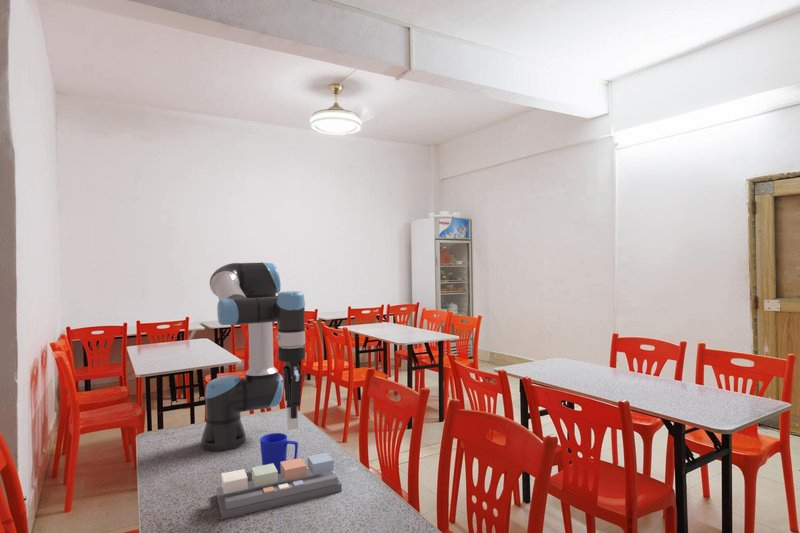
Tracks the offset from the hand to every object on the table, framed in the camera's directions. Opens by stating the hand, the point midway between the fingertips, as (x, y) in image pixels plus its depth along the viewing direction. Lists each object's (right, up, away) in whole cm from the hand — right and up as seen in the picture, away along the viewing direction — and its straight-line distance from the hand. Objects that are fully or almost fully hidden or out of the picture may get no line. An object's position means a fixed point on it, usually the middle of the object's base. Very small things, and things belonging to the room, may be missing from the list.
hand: (292, 428), depth 135 cm
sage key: (-7, -13, -3) cm, 15 cm away
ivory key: (-14, -13, -7) cm, 21 cm away
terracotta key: (0, -13, 0) cm, 13 cm away
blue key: (+7, -13, +4) cm, 15 cm away
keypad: (-3, -18, -1) cm, 18 cm away
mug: (-7, -18, +13) cm, 23 cm away
